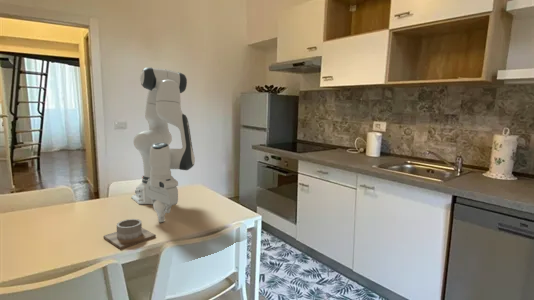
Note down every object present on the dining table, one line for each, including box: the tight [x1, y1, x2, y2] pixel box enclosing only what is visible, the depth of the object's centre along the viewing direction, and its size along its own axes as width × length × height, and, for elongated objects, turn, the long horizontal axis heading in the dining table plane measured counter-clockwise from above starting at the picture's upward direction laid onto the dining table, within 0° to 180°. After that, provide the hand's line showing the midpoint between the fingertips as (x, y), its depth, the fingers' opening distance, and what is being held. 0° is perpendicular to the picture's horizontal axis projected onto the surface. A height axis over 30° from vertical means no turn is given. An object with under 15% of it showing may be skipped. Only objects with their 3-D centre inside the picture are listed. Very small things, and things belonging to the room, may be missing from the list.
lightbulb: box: [152, 200, 167, 224], centre depth 134 cm, size 6×6×11 cm
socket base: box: [103, 218, 157, 250], centre depth 119 cm, size 14×14×6 cm
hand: (161, 210), depth 134 cm, fingers open, 8 cm apart
